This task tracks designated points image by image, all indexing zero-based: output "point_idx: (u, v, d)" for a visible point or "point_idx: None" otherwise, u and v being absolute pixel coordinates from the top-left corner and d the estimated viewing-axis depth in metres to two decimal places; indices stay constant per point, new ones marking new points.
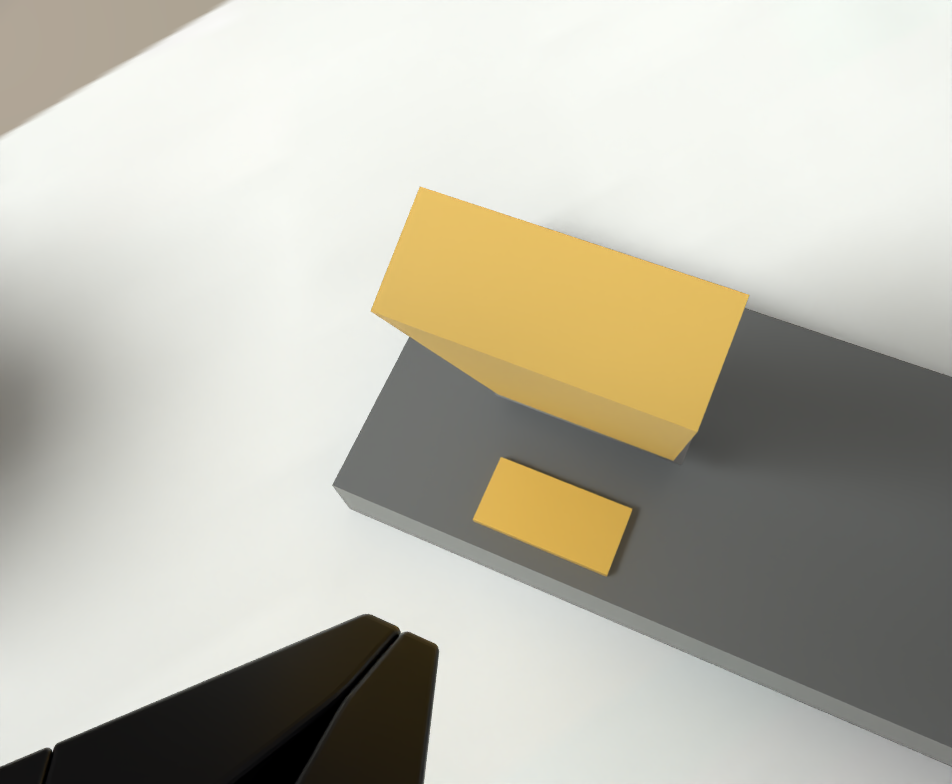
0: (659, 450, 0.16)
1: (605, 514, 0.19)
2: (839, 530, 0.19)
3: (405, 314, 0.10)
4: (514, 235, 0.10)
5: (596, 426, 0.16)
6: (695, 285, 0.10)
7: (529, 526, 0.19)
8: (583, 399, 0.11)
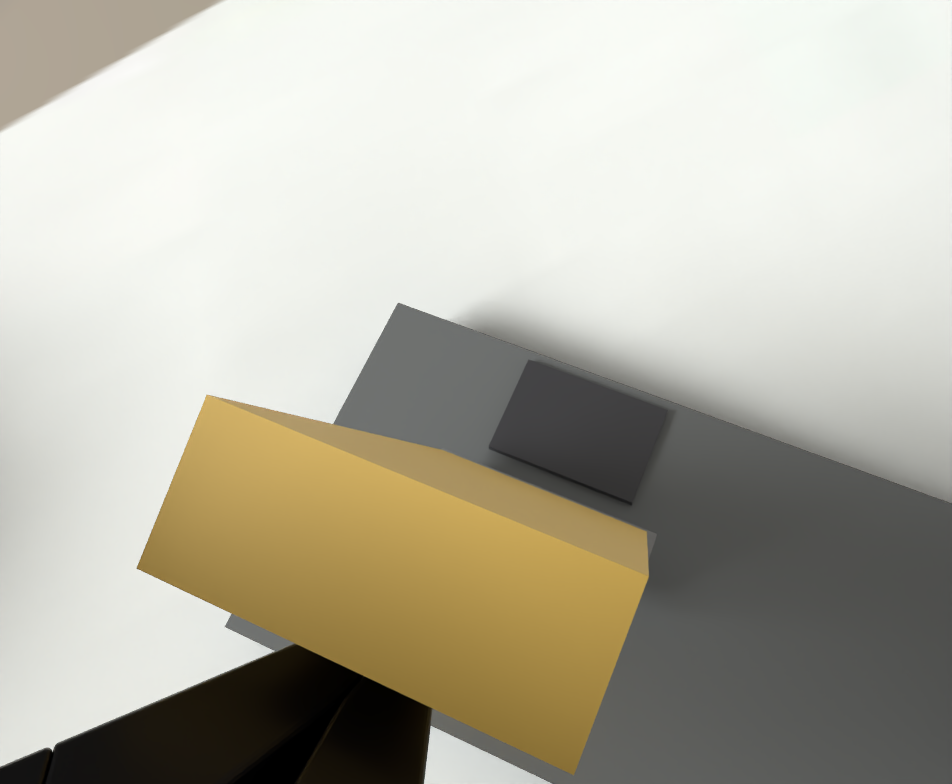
0: None
1: None
2: (813, 690, 0.16)
3: (183, 575, 0.07)
4: (330, 471, 0.07)
5: None
6: (573, 559, 0.07)
7: None
8: None
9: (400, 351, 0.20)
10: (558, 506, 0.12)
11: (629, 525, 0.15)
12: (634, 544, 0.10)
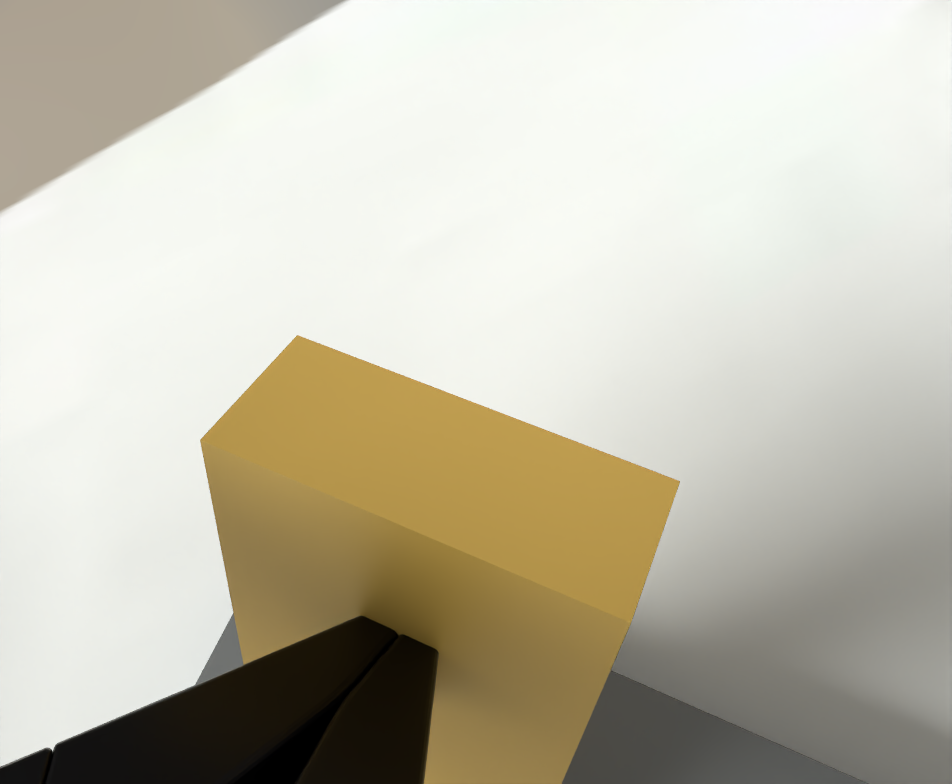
0: None
1: None
2: None
3: (247, 450, 0.08)
4: (403, 392, 0.08)
5: None
6: (617, 465, 0.08)
7: None
8: (452, 639, 0.08)
9: None
10: None
11: None
12: None
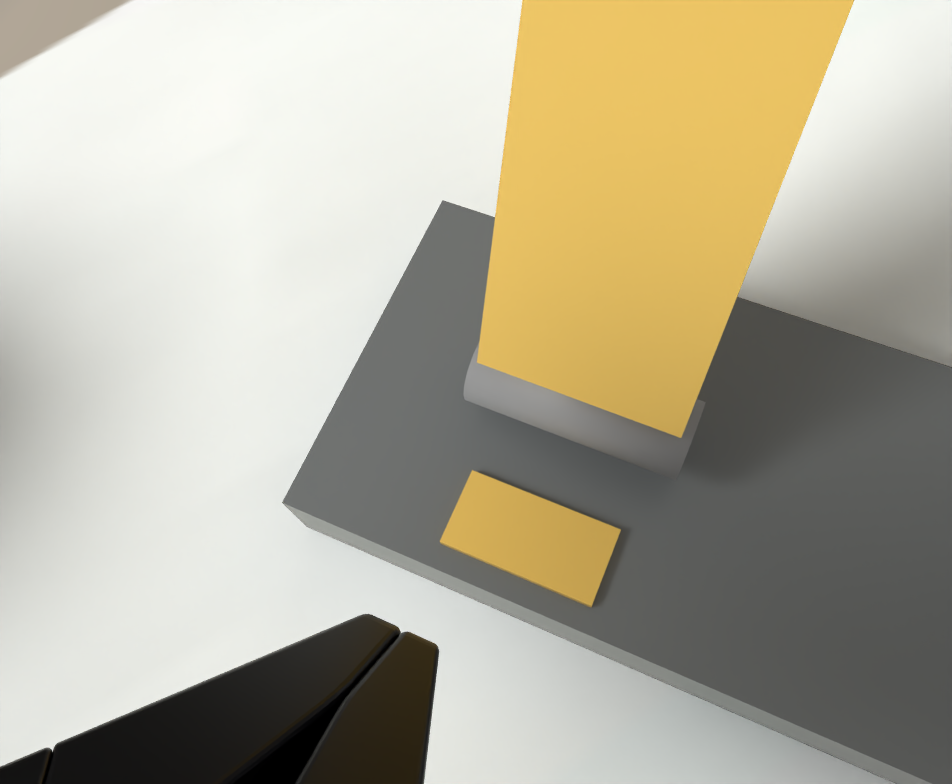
0: (695, 345, 0.14)
1: (590, 536, 0.17)
2: (857, 553, 0.17)
3: None
4: None
5: (623, 317, 0.14)
6: None
7: (504, 549, 0.17)
8: None
9: (446, 245, 0.20)
10: None
11: None
12: None
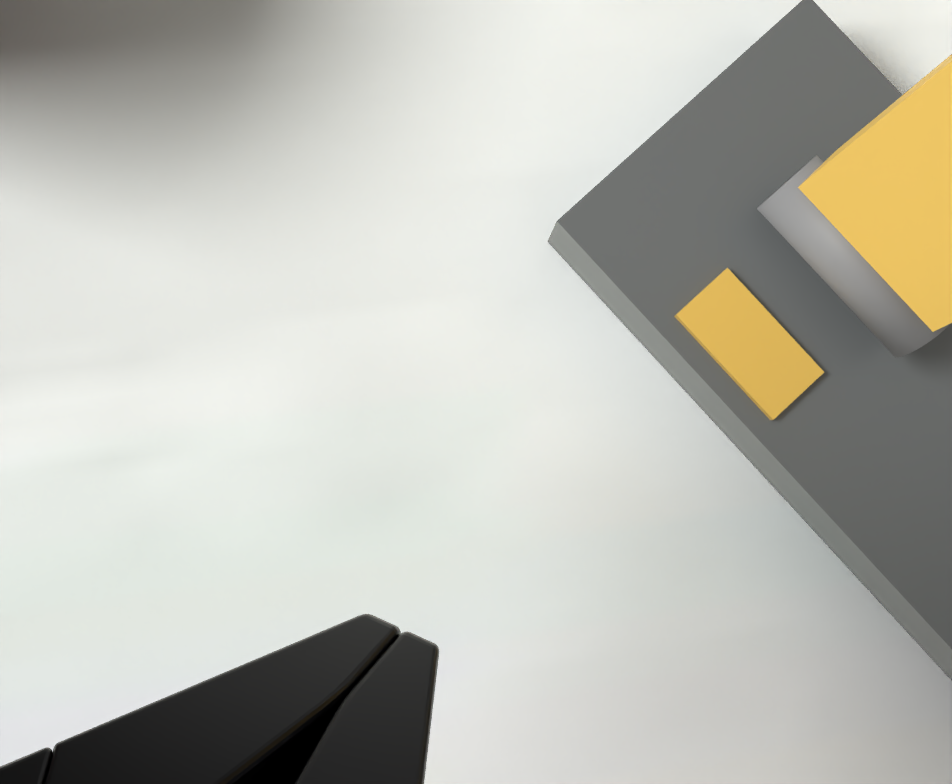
0: None
1: (797, 365, 0.20)
2: None
3: None
4: None
5: None
6: None
7: (724, 344, 0.20)
8: None
9: (791, 45, 0.20)
10: None
11: None
12: None
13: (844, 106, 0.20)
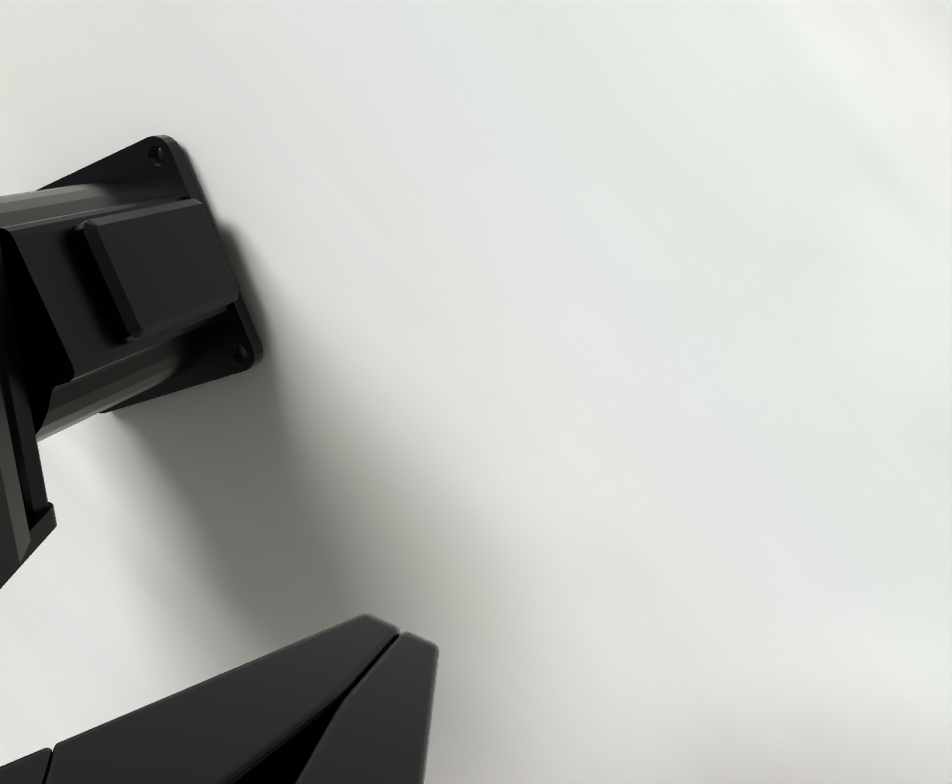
0: None
1: None
2: None
3: None
4: None
5: None
6: None
7: None
8: None
9: None
10: None
11: None
12: None
13: None
